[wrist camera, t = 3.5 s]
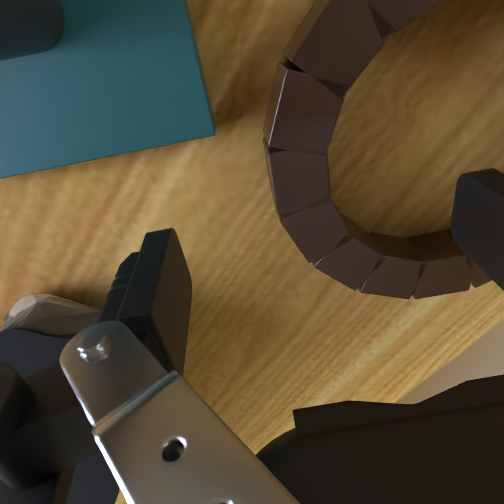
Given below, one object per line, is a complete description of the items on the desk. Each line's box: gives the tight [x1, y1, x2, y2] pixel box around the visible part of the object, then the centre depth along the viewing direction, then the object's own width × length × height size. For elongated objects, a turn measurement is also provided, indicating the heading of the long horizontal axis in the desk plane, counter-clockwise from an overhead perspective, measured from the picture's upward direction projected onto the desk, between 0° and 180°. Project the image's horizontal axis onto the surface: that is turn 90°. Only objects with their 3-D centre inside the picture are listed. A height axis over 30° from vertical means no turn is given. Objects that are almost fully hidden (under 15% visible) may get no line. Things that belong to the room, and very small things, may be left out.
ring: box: [263, 0, 492, 299], centre depth 15 cm, size 14×14×2 cm
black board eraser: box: [0, 294, 120, 504], centre depth 22 cm, size 16×8×4 cm, turn 158°
